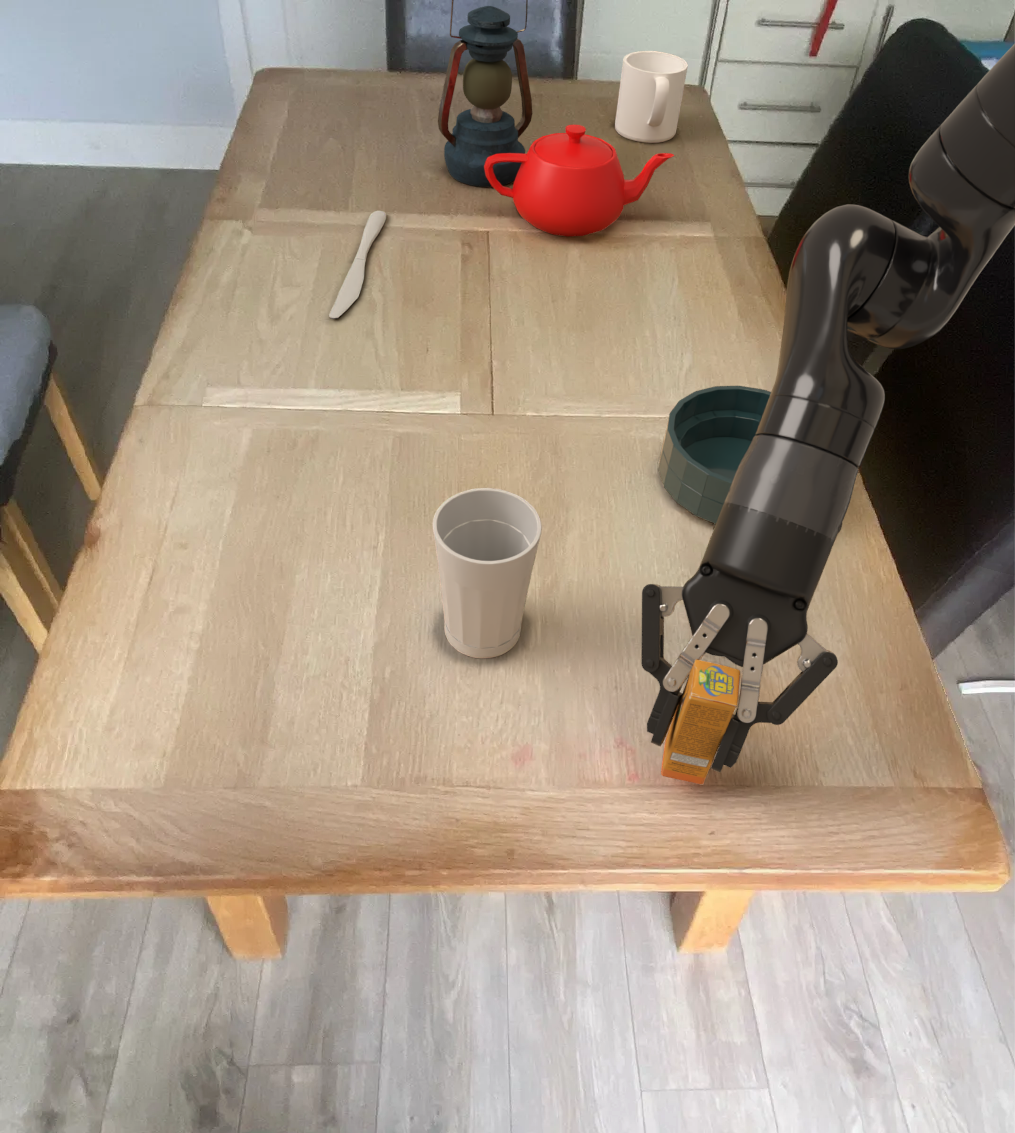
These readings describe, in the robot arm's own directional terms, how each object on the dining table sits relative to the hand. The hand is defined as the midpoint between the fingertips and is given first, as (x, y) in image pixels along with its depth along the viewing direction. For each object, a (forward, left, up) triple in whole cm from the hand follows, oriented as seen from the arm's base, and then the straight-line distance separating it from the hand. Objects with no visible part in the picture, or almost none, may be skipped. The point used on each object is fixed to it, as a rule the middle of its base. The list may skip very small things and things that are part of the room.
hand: (687, 754), depth 61 cm
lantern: (+36, -97, -6) cm, 103 cm away
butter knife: (+45, -66, -6) cm, 80 cm away
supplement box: (-1, -2, -4) cm, 5 cm away
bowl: (-3, -36, -5) cm, 36 cm away
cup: (+17, -12, -6) cm, 21 cm away
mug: (+14, -119, -6) cm, 120 cm away
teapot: (+21, -86, -6) cm, 88 cm away
